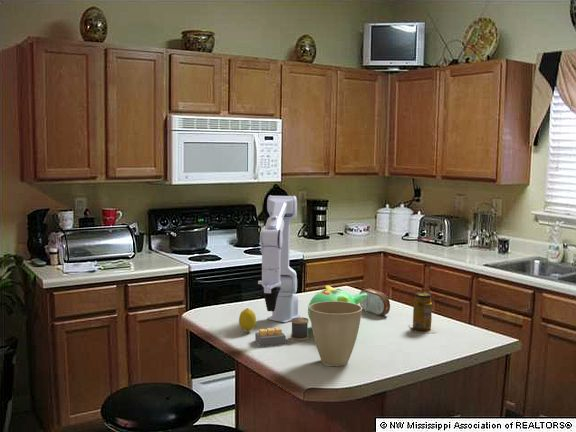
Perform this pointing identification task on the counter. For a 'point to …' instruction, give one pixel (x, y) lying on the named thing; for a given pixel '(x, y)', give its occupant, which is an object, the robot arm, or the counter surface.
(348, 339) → the plant pot
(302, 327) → the cord spool
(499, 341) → the counter surface
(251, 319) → the lemon
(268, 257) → the robot arm
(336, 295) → the green toy teapot
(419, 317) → the condiment
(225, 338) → the counter surface
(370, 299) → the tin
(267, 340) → the breaker strip
